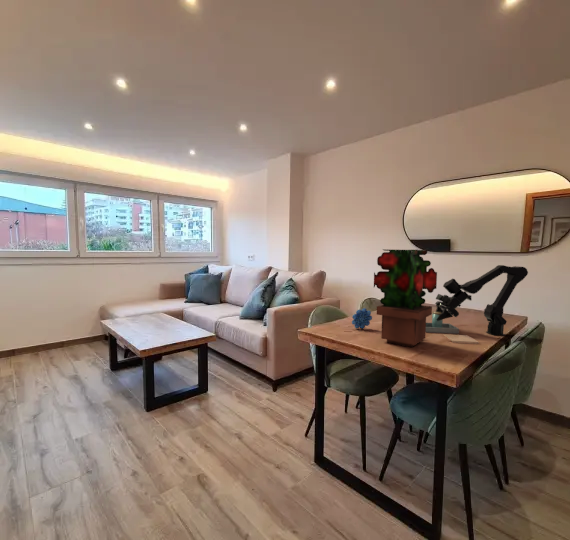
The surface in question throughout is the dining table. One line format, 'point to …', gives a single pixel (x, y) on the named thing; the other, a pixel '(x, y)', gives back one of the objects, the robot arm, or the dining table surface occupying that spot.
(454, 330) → the grey tray
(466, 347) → the dining table surface
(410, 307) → the potted plant
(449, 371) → the dining table surface
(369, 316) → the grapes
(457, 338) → the tile
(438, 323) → the jar
